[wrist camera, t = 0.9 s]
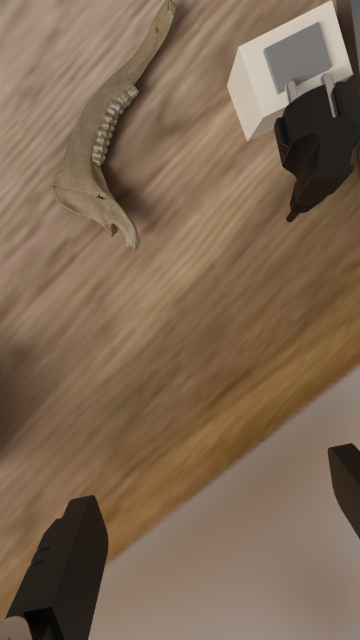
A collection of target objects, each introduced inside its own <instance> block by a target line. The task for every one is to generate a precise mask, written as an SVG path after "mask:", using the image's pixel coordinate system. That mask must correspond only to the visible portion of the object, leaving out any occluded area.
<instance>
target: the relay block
mask: <svg viewBox="0 0 360 640" xmlns="http://www.w3.org/2000/svg"><path fill="white" fill-rule="evenodd" d="M325 73H330V74H331V75H332V78H333V83H334V86H335V84H336V82H340V81H345V82H346V81H347V80H348V79H349V78H350V77H351V76H352V75H353V72H352V69H351V65H350V62H349V59H348V55H347V52H346V48H345V45H344V41H343V38H342V34H341V31H340V27H339V24H338V20H337V17H336V13H335V10H334V6H333V3H332V0H331V1H329V2H327V3H325V4H323V5H321V6H319V7H317V8H315V9H313V10H311V11H309V12H307V13H305V14H303V15H301V16H299V17H297V18H295V19H293V20H291V21H289V22H287V23H285V24H283V25H281V26H279V27H277V28H275V29H273V30H271V31H269V32H267V33H265V34H263V35H261V36H259V37H257V38H255V39H253V40H251V41H249V42H247V43H245V44H243V45H241V46H239V47H238V51H237V54H236V57H235V61H234V64H233V67H232V71H231V74H230V77H229V81H228V84H227V87H228V90H229V93H230V95H231V98H232V101H233V104H234V106H235V109H236V112H237V115H238V117H239V120H240V123H241V126H242V128H243V131H244V134H245V137H246V139H247V142H248V141H250V140H252V139H254V138H256V137H258V136H261V135H263V134H265V133H267V132H269V131H271V130H273V129H274V124H275V121H276V118H279V117H282V115H283V112H284V110H285V107H286V106H287V105H288V102H287V98H286V93H285V84H286V83H287V82H288V81H290V80H293V81H295V83H296V87H297V92H298V97H299V96H301V95H302V94H304V93H306V92H307V91H309V90H311V89H314V88H316V87H318V86H321V83H320V79H321V77H322V75H323V74H325Z"/></svg>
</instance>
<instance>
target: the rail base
mask: <svg viewBox="0 0 360 640" xmlns="http://www.w3.org/2000/svg"><path fill="white" fill-rule="evenodd" d="M337 8H338V15H339V23H340V30H341V34H342V38H343V41H344V45H345V48H346V52H347V55H348V59H349V62H350V65H351V69H352V72H353V75H352V76H351V77H350V78H349V79H348V80H347V82H351V83H354V84H355V85H357V86H358V87H359V89H360V0H337ZM356 150H357V158H358V165H359V173H360V140H359V141H358V143H357V144H356Z"/></svg>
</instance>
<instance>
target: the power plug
mask: <svg viewBox="0 0 360 640" xmlns="http://www.w3.org/2000/svg"><path fill="white" fill-rule="evenodd" d="M320 83H321V86H318V87H316V88H314V89H311V90H309V91H307V92H306V93H304V94H302V95H301V96H299V97H298V92H297V87H296V83H295V81H293V80H290V81H288V82H287V83H286V84H285V93H286V98H287V102H288V105H287V106H286V107H285V110H284V112H283V115H282V117H279V118H276V121H275V124H274V130H275V135H276V140H277V144H278V149H279V153H280V158H281V162H282V166H283V167H284V168H285V169H286V170H288V171H290V172H291V173H293V174H294V175H295V176H296V178H297V181H296V183H295V185H294V189H293V193H292V197H291V201H290V207H291V212H290V214H289V215H288V216H287V221H288V222H292V221H293V220H294V219H295V217H296V216H297V215H298V214H299V213H304V212H307V211H309V210H310V209H312V208H313V207H314V206H316V205H317V204H319V203H320V202H322V201H323V200H324V199H325V198H326V197H327V196H328V195H330V194H333V193H334V192H335V191H336V189H337V188H338V187H339V186H340V185H341V184H342V183H343V182H344V181H345V179H346V178H347V177H348V176H349V175H350V174H351V173H352V169H353V164H350V159H351V154H352V149H353V148H354V146H355V145H356V144H357V143H358V141H359V140H360V89H359V87H358V86H357V85H355V84H354V83H351V82H345V81H340V82H336V84H335V86H334V83H333V78H332V75H331V74H330V73H325V74H323V75H322V77H321V79H320Z"/></svg>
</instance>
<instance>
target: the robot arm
mask: <svg viewBox="0 0 360 640" xmlns="http://www.w3.org/2000/svg"><path fill="white" fill-rule="evenodd" d="M328 457H329V465H330V472H331V478H332V485H333V490H334V494H335V496H336V499H337V502H338V504H339V506H340V508H341V509H342V511H343V513H344V514H345V516H346V518H347V519H348V521H349V522H350V524H351V526H352V527H353V529H354V531H355V532H356V534H357V535H358V537H359V539H360V451H359V450H358V449H357V448H356V447H355V446H354V445H353V444H352V443H350V444H345V445H340V446H335V447H330V448H328ZM107 553H108V534H107V529H106V526H105V524H104V521H103V518H102V515H101V512H100V509H99V506H98V503H97V500H96V498H95V496H94V495H90V496H85V497H80V498H75V499H71V500H70V501H69V503H68V505H67V508H66V510H65V513H64V515H63V517H62V518H60V519H56V520H55V521H54V522H53V524H52V525H51V526H50V527H49V528H48V530H47V531H46V532H45V533H44V535H43V537H42V539H41V541H40V544H39V546H38V548H37V552H36V553H35V554H34V557H33V559H32V561H31V566H29V568H28V570H27V572H26V574H25V576H24V578H23V581H22V583H21V585H20V587H19V589H18V592H17V594H16V596H15V598H14V600H13V602H12V605H11V607H10V609H9V611H8V613H7V616H6V618H5V619H4V620H2V621H0V640H88V637H89V633H90V629H91V624H92V620H93V615H94V611H95V607H96V602H97V597H98V593H99V589H100V584H101V580H102V575H103V571H104V567H105V562H106V558H107Z"/></svg>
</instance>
